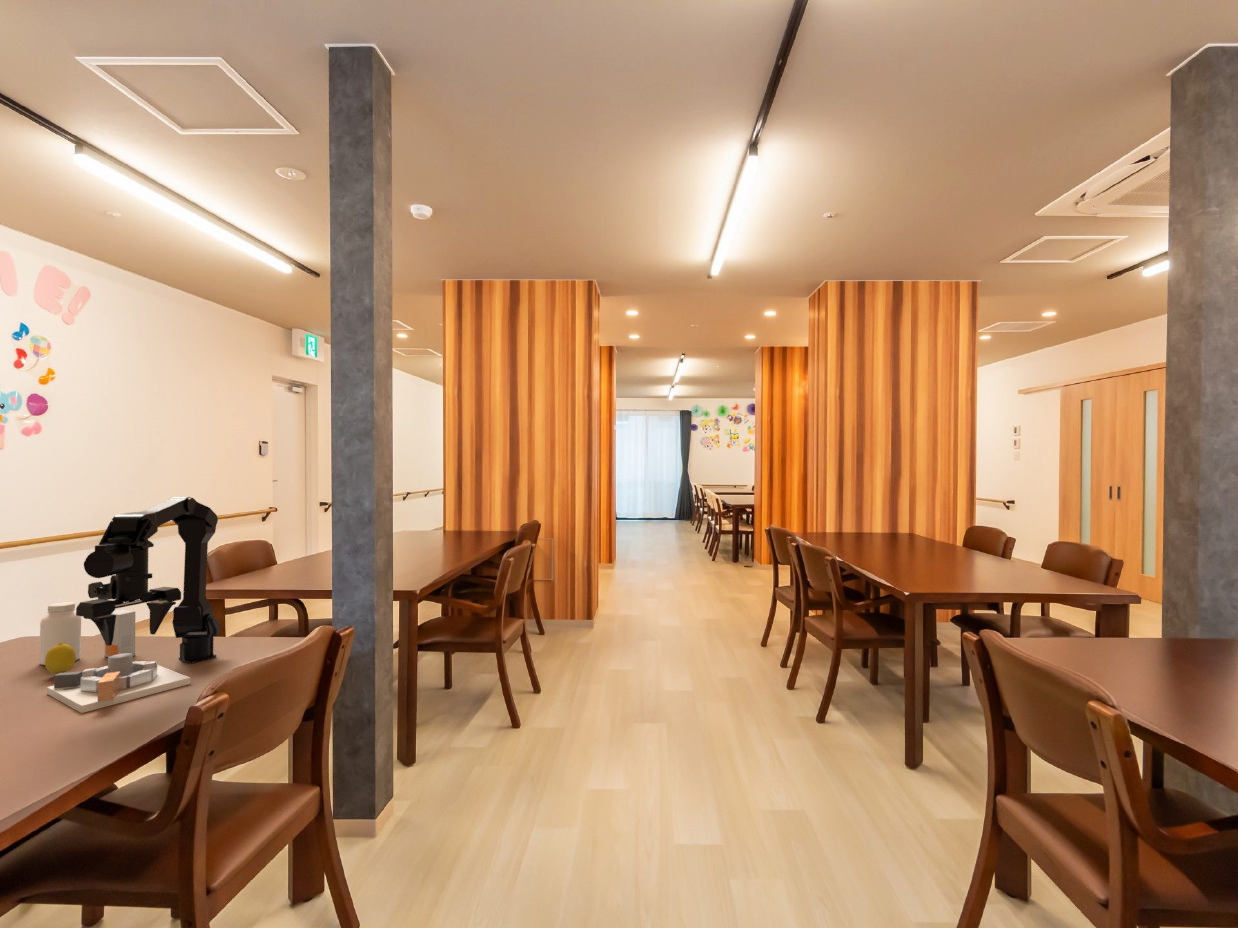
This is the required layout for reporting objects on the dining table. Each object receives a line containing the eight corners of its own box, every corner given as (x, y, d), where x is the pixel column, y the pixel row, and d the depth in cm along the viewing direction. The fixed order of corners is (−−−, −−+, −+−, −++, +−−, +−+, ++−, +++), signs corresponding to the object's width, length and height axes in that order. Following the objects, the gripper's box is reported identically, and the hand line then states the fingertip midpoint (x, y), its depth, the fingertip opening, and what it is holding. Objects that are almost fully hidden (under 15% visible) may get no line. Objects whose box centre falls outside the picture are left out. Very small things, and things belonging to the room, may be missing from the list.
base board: (151, 668, 154) (152, 638, 154) (189, 683, 143) (190, 651, 143) (47, 693, 137) (47, 660, 137) (81, 712, 126) (81, 676, 126)
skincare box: (103, 657, 163) (104, 612, 163) (121, 652, 167) (121, 609, 167) (118, 659, 161) (118, 614, 161) (136, 655, 165) (136, 610, 165)
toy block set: (91, 677, 142) (91, 660, 142) (160, 668, 149) (160, 652, 149) (64, 706, 125) (65, 686, 125) (143, 695, 132) (143, 676, 132)
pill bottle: (85, 659, 160) (86, 602, 161) (45, 668, 154) (45, 608, 154) (74, 654, 165) (75, 599, 165) (34, 662, 158) (35, 604, 158)
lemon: (56, 680, 145) (57, 646, 145) (38, 678, 146) (38, 645, 146) (81, 672, 151) (81, 640, 151) (63, 670, 152) (64, 638, 152)
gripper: (149, 561, 147) (148, 626, 147) (58, 574, 130) (58, 648, 130) (183, 564, 144) (182, 630, 144) (94, 578, 126) (94, 653, 126)
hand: (131, 639), depth 136 cm, fingers open, 9 cm apart
